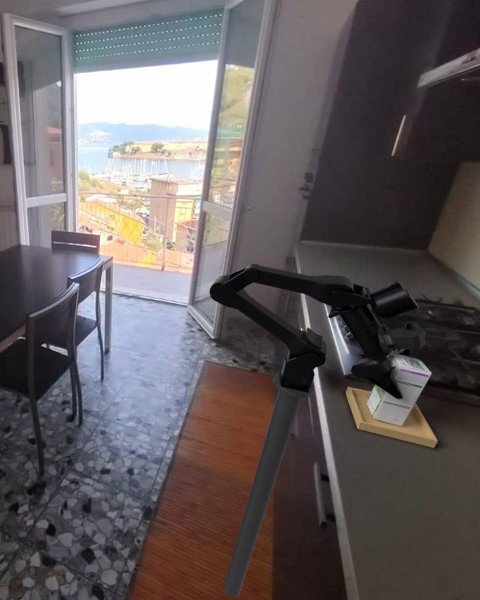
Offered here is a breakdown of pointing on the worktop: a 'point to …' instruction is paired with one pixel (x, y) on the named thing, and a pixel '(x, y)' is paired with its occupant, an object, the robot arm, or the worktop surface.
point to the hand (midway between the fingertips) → (406, 391)
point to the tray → (410, 431)
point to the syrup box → (410, 382)
